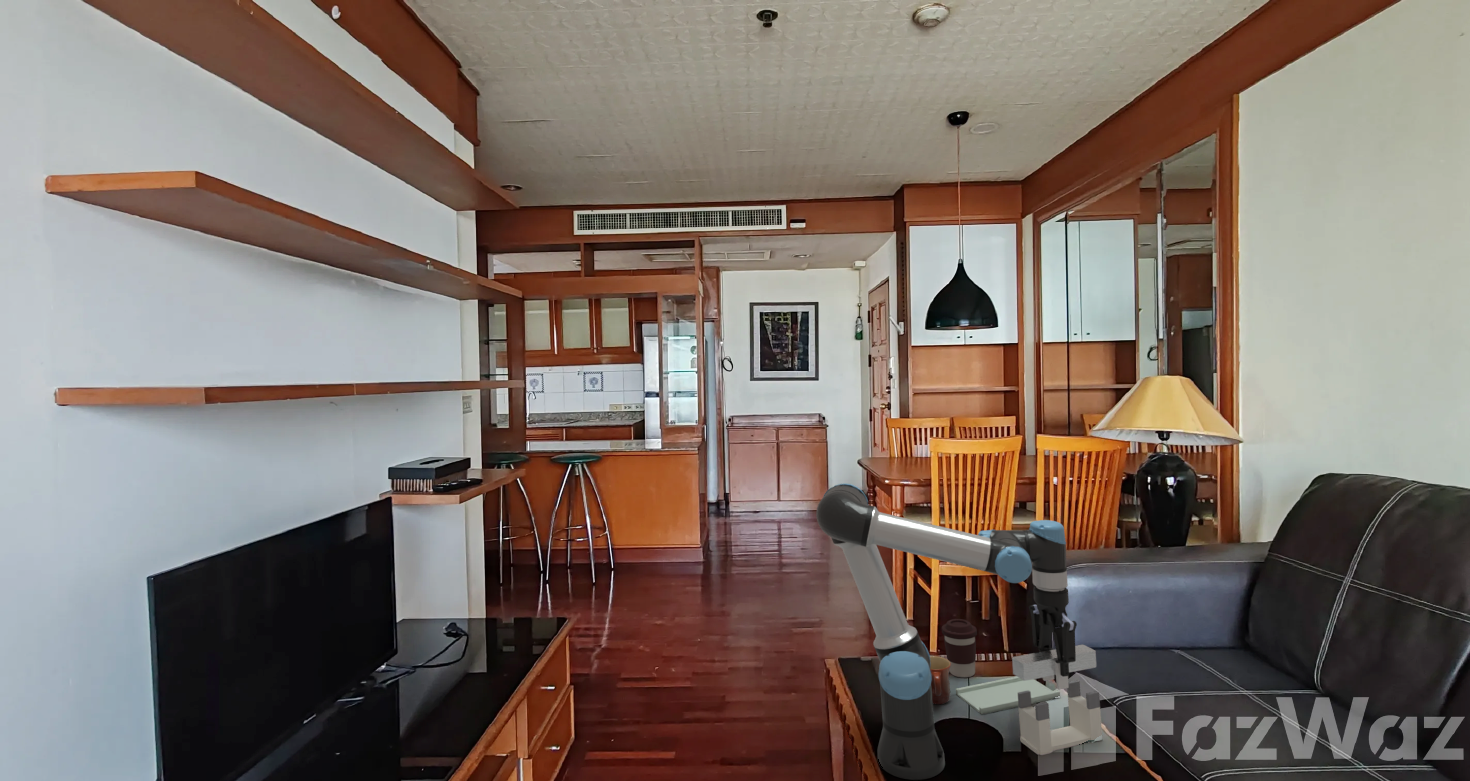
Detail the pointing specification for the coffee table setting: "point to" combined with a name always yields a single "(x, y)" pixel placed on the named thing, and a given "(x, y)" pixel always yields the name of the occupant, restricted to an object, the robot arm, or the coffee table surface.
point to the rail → (1051, 663)
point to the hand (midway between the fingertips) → (1055, 683)
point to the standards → (1045, 740)
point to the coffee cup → (960, 646)
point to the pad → (1003, 694)
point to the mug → (940, 680)
